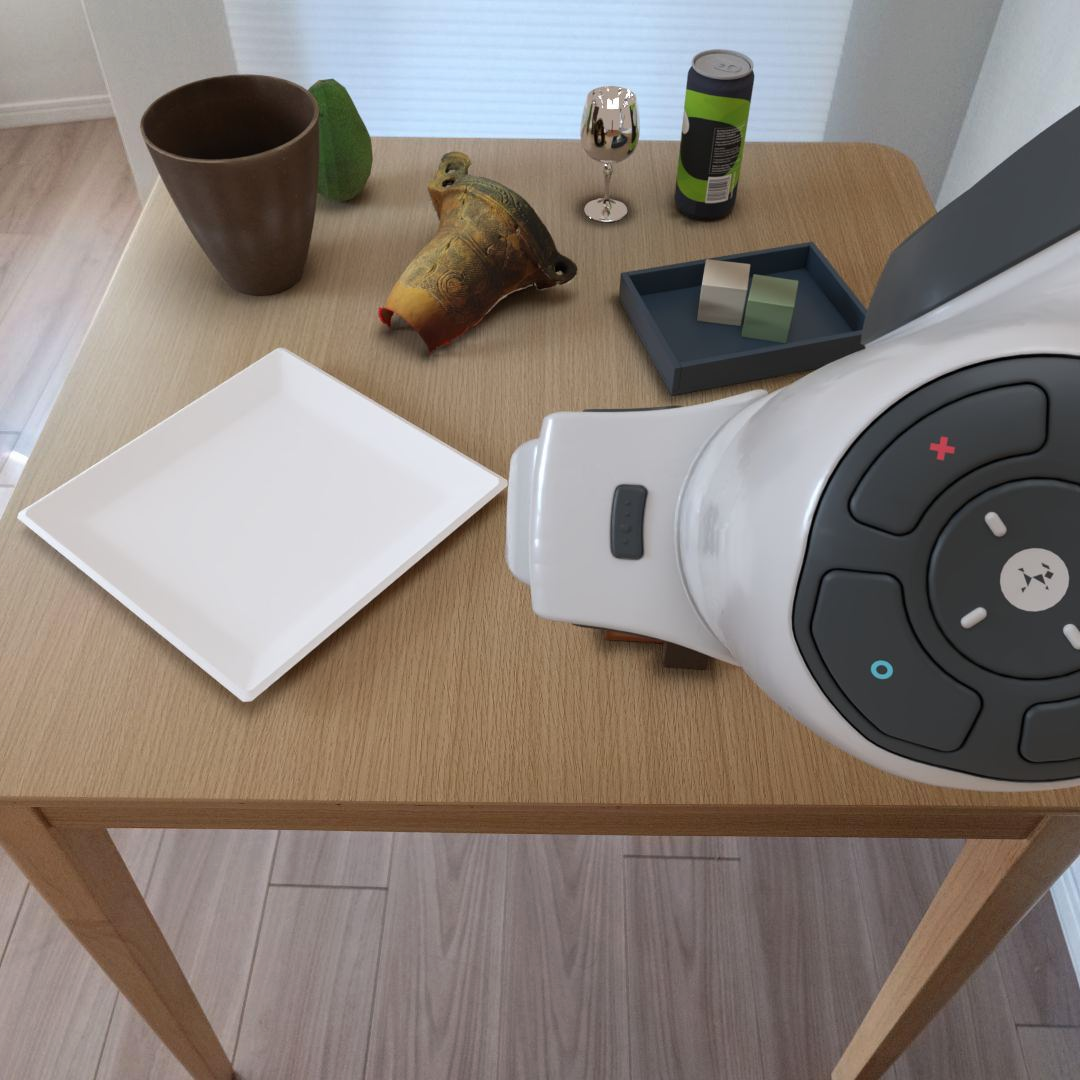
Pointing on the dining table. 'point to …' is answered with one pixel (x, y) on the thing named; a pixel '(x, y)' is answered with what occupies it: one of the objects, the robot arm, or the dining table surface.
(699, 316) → the cream block
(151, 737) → the dining table surface
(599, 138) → the wineglass
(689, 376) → the tray
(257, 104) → the plant pot
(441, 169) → the pot
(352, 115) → the fruit
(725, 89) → the beverage can
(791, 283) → the sage block
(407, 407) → the dining table surface
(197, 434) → the plate
